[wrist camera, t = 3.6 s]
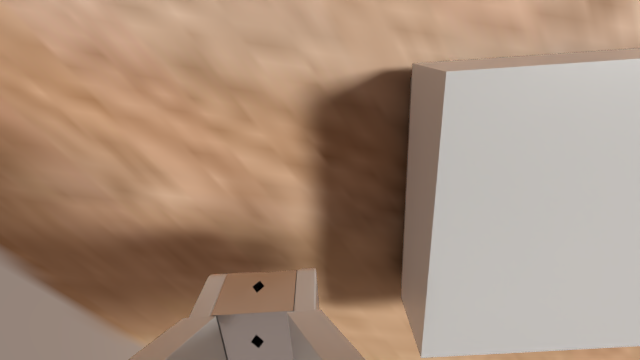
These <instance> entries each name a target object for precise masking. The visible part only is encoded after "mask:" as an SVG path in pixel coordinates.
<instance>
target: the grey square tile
mask: <svg viewBox="0 0 640 360" xmlns="http://www.w3.org/2000/svg"><path fill="white" fill-rule="evenodd" d="M401 289H402V292H401V299H402V302H403V305H404V308H405V311H406V314H407V317H408V320H409V323H410V326H411V329H412V332H413V335H414V338H415V341H416V344H417V347H418V350H419V353H420V356H421V358H427V357H446V356H464V355H483V354H501V353H520V352H539V351H557V350H576V349H594V348H613V347H631V346H640V48H633V49H618V50H603V51H588V52H573V53H559V54H544V55H529V56H514V57H499V58H484V59H470V60H455V61H440V62H425V63H413V64H412V77H411V83H410V104H409V125H408V146H407V168H406V189H405V210H404V232H403V253H402V274H401Z"/></svg>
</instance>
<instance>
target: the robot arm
mask: <svg viewBox="0 0 640 360" xmlns="http://www.w3.org/2000/svg"><path fill="white" fill-rule="evenodd" d="M129 360H365V359H364V358H363V357H362V355H361V354H360V353H359V352H358V351H357V350H356V349H355V348H354V346H353V345H352V344H351V343H350V342H349V341H348V340H347V339H346V337H345V336H344V335H343V334H342V333H341V332H340V331H339V330H338V328H337V327H336V326H335V325H334V324H333V323H332V322H331V321H330V319H329V318H328V317H327V316H326V315H325V314H324V313H323V312H322V310H319V298H318V286H317V274H316V269H315V268H306V269H298V270H289V271H273V272H248V273H229V274H227V273H226V274H211V275H210V276H209V277H208V278H207V280H206V282H205V284H204V286H203V288H202V291H201V293H200V295H199V297H198V299H197V301H196V303H195V305H194V307H193V309H192V311H191V314H190V316H189V318H182V319H181V320H180V321H179V322H177V323H176V324H175V325H173V326H172V327H171V328H169V329H168V330H167V331H165V332H164V333H163V334H161V335H160V336H159V337H158V338H156V339H155V340H154V341H152V342H151V343H150V344H148V345H147V346H146V347H144V348H143V349H142V350H140V351H139V352H138V353H137V354H135V355H134V356H133V357H131V358H130V359H129Z"/></svg>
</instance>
